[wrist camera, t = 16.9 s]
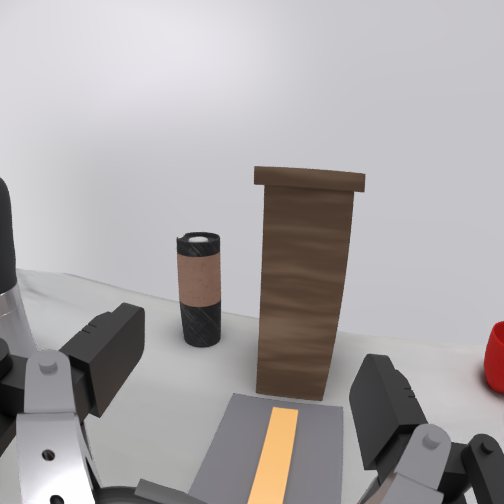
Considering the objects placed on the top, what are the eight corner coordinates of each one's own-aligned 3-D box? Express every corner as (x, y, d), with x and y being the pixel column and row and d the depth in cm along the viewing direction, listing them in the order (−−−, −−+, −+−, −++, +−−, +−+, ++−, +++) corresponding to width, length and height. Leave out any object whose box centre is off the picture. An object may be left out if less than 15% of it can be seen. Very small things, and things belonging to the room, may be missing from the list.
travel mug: (227, 344, 54) (226, 240, 48) (187, 351, 51) (180, 244, 45) (215, 325, 61) (213, 230, 55) (179, 330, 58) (172, 233, 52)
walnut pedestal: (328, 405, 38) (365, 173, 29) (248, 395, 41) (254, 166, 32) (329, 347, 53) (350, 172, 44) (267, 340, 56) (275, 166, 47)
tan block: (254, 606, 9) (256, 605, 9) (217, 599, 10) (214, 598, 9) (295, 424, 34) (298, 409, 33) (271, 421, 35) (273, 406, 34)
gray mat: (326, 593, 11) (329, 592, 10) (156, 562, 14) (154, 560, 14) (341, 411, 37) (342, 406, 37) (233, 397, 40) (233, 393, 40)
